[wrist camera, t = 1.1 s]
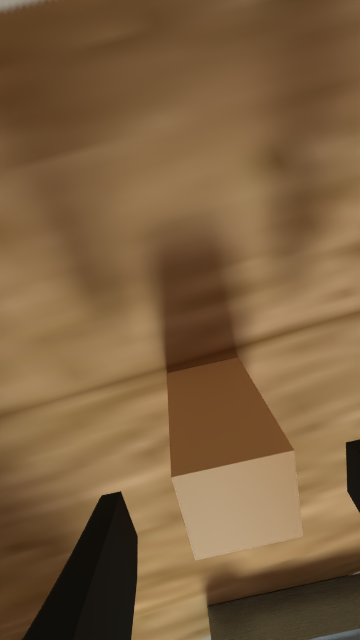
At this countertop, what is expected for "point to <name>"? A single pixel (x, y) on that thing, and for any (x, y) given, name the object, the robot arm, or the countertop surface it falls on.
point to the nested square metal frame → (292, 613)
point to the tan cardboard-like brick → (229, 462)
